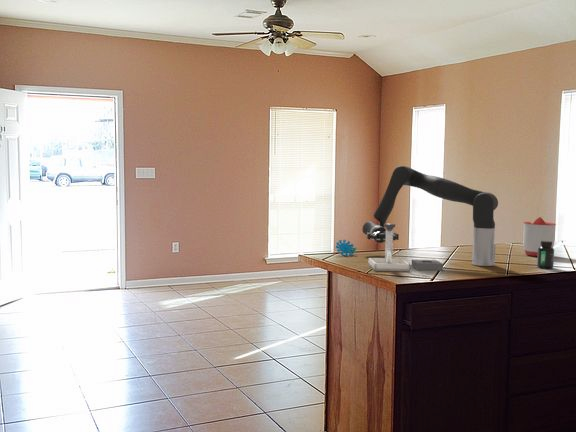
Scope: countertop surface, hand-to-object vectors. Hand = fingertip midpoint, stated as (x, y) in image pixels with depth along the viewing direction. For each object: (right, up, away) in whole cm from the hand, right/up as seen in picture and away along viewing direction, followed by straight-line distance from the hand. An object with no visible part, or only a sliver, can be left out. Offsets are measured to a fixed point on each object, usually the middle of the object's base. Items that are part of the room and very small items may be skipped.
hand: (385, 238), depth 278 cm
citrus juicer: (+86, -11, +42) cm, 96 cm away
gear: (-15, -10, +27) cm, 33 cm away
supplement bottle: (+73, -14, +2) cm, 74 cm away
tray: (0, -13, -8) cm, 15 cm away
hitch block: (+17, -13, -7) cm, 23 cm away
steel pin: (0, -12, -8) cm, 14 cm away
